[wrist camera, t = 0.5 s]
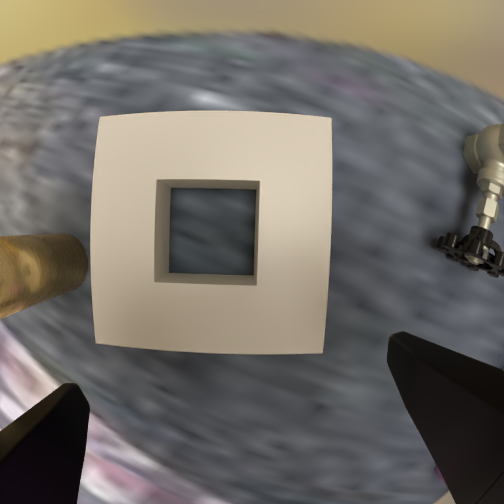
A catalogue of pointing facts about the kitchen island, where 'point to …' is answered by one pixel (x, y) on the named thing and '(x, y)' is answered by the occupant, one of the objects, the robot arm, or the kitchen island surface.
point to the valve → (482, 204)
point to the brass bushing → (38, 269)
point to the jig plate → (158, 229)
